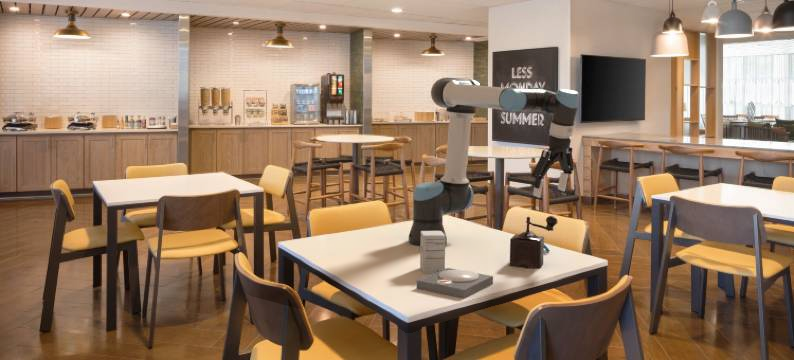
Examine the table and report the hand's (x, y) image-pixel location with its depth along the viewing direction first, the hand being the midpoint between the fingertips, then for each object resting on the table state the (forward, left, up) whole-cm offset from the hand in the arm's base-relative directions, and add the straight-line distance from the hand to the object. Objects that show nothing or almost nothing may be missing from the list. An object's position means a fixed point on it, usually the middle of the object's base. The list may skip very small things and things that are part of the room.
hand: (549, 193), depth 220 cm
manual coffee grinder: (0, -11, -24) cm, 26 cm away
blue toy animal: (-7, +10, -24) cm, 27 cm away
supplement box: (-24, -38, -24) cm, 51 cm away
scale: (-9, -49, -24) cm, 55 cm away
